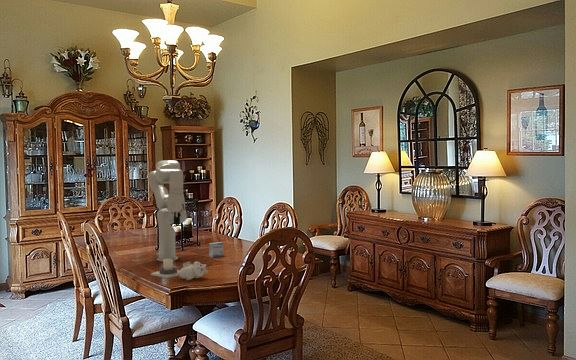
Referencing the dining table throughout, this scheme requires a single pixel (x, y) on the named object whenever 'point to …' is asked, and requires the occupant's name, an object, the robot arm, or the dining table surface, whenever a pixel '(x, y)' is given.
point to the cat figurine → (192, 270)
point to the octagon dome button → (166, 273)
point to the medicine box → (215, 249)
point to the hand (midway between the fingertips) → (176, 224)
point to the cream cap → (168, 264)
